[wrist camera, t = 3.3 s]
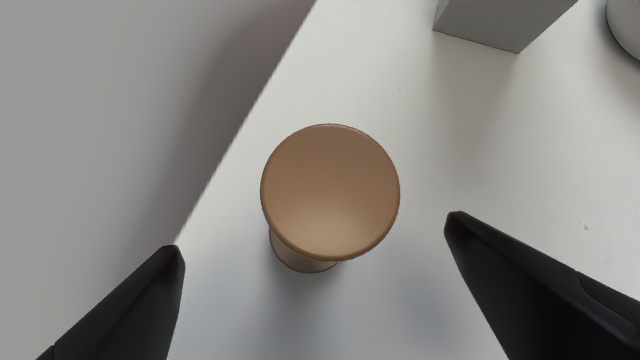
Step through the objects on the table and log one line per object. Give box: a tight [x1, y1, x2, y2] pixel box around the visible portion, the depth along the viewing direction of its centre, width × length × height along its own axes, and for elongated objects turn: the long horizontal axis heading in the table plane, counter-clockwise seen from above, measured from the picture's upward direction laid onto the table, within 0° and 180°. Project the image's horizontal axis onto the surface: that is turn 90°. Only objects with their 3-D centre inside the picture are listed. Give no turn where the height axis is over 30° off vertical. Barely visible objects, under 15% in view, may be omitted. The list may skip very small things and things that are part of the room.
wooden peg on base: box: [260, 124, 400, 274], centre depth 11 cm, size 5×5×14 cm
